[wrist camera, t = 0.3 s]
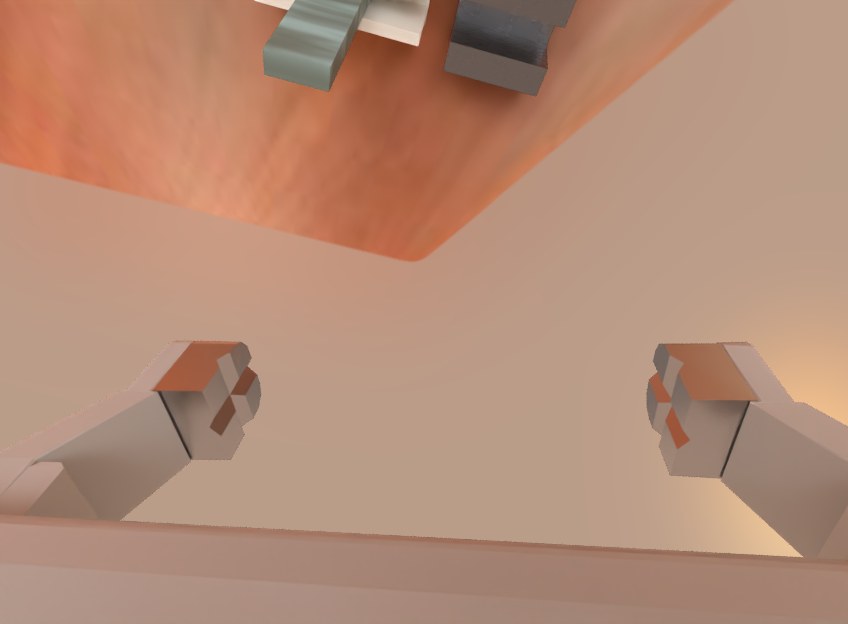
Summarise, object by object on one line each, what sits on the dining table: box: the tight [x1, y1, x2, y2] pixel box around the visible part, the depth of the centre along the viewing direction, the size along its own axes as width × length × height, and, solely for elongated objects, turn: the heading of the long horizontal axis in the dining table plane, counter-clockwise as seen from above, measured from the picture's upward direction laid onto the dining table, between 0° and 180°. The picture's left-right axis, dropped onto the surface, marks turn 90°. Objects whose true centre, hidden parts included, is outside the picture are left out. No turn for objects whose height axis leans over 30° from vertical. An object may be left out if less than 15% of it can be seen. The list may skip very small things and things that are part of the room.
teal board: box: [263, 0, 370, 92], centre depth 44 cm, size 2×5×20 cm, turn 78°
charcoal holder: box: [443, 0, 576, 96], centre depth 50 cm, size 10×10×6 cm
